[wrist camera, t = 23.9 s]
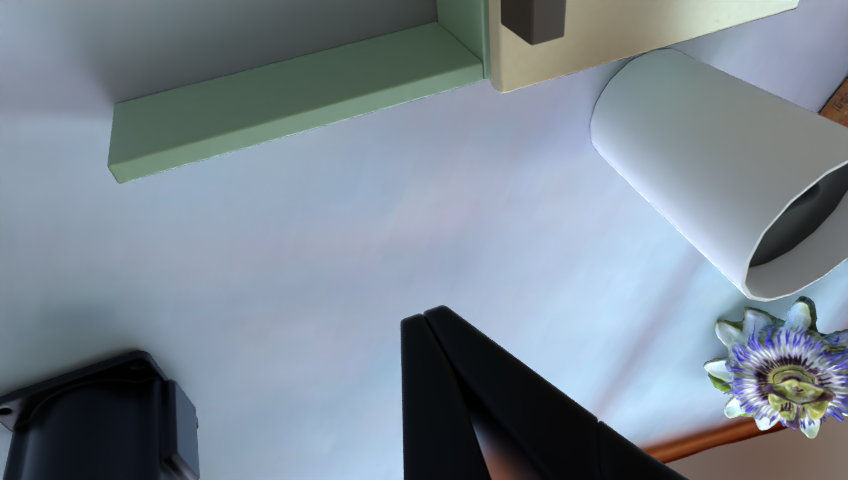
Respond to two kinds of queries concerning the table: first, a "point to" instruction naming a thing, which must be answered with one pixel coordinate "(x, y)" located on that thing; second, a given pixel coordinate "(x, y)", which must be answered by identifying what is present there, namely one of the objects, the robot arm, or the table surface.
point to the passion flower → (782, 369)
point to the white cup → (730, 169)
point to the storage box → (300, 93)
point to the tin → (838, 106)
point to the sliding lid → (600, 32)
